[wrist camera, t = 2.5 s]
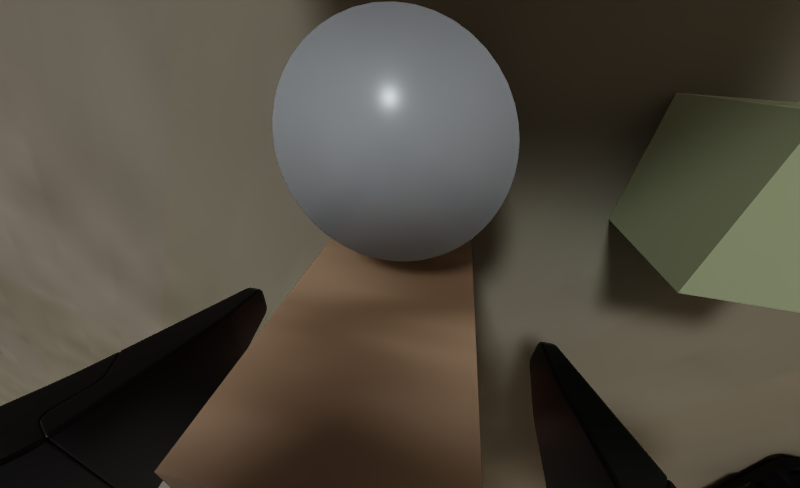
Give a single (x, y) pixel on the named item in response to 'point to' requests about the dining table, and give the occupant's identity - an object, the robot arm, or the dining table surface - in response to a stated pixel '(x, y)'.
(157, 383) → the robot arm
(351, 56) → the grey sphere ball
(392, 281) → the walnut block
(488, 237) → the dining table surface
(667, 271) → the olive cube
